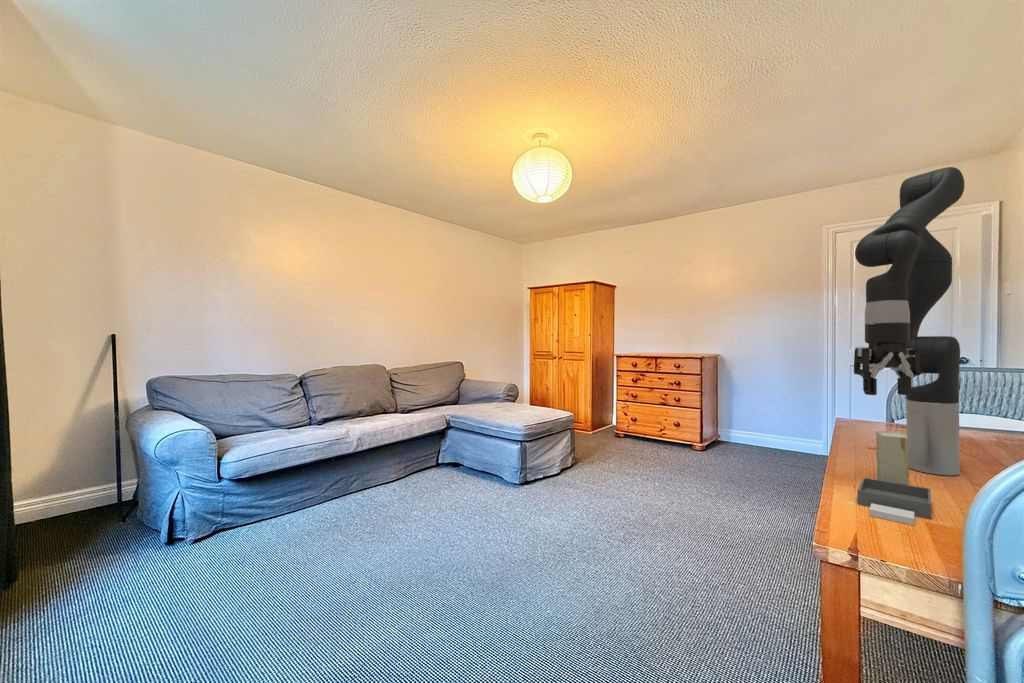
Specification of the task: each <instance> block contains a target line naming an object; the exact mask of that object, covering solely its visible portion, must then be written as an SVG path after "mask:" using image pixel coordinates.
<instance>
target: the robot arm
mask: <svg viewBox="0 0 1024 683" xmlns="http://www.w3.org/2000/svg"><path fill="white" fill-rule="evenodd" d="M899 188H900V189H899V209H898V210H896V211H895V212H894V213H893V214H892V215H891V216H890V217H888V219H887V221H886V222H884V224H883V225H881V226H879V227H877V228H876V229H873V230H872V231H871V232H869V233H868V234H866V235H865V236H864V237H863V238H861V239H860V241H859V242H858V244H857V245H856V247H855V251H854V257H855V260H856V261H857V263H859V264H860V265H861V266H862V267H867V268H875V267H881V266H889V265H891V266H890V267H889V269H888V270H887V271H886V272H884V273H881V274H879V275H875V276H872V277H870V278H868V279H867V281H866V283H865V309H864V342H865V344H868V347H855V349H854V355H853V356H854V357H853V358H854V360H853V374H855V375H859V376H860V377H861V378H862V390H863V392H864V394H865V395H868V396H876V395H877V394H878V393H877V392H878V390H877V389H878V387H877V386H878V385H877V383H878V381H877V378H876V377H877V375H878V374H879V372H881V371H883V370H884V368H890V369H891V370H892V371H894V373H895V374H896V376H898V377H897V394H898V395H901V396H905V399H906V400H905V402H906V403H905V411H906V417H905V418H906V437H908V465H909V469H912V470H915V471H917V472H921V473H926V474H931V475H940V476H959V475H960V474H961V467H960V466H961V461H960V458H961V453H960V452H961V450H960V449H961V447H960V446H961V445H960V444H961V442H960V399H959V398H960V394H959V393H960V391H959V390H960V388H959V386H960V378H959V376H960V364H961V346H960V342H959V341H958V339H957V338H956V337H954V336H950V335H948V336H947V335H945V336H943V335H941V336H939V335H938V336H935V335H933V336H931V335H930V336H928V335H927V336H924V335H923V336H918V335H919V330H920V329H921V328H920V327H921V325H922V322H923V320H924V319H925V317H926V316H927V315H928V313H929V312H930V310H931V309H932V308H933V307H934V306H935V305H936V304H937V303H938V302H939V301H940V300H941V299H942V297H943V296H945V294H946V292H947V291H948V290H949V289H950V287H951V284H952V281H953V258H952V257H953V256H952V254H951V253H950V251H949V250H948V249H947V248H946V247H945V246H944V245H943V243H941V242H940V241H938V239H936V237H934V236H933V235H932V234H931V232H930V231H929V230H928V229H927V227H928V225H930V223H931V222H932V221H933V220H935V219H936V218H938V216H939V215H941V214H942V213H944V212H945V211H947V209H948V208H950V207H952V206H953V205H954V204H955V203H957V202H958V201H959V200H960V199H961V197H962V196H963V194H964V191H965V179H964V175H963V174H962V172H961V169H959V168H957V167H955V166H948V167H942V168H939V169H935V170H931V171H928V172H925V173H921V174H917V175H913V176H910V177H908V178H906V179H905V180H903V181H902V183H901V186H900V187H899ZM861 365H862V366H861ZM921 374H935V375H936V374H938V377H937V379H935V380H934V381H931V382H930V383H929V382H928V383H926V384H922V385H916V386H912V379H913V378H914V377H916V376H920V375H921Z"/></svg>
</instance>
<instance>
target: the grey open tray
mask: <svg viewBox="0 0 1024 683" xmlns="http://www.w3.org/2000/svg"><path fill="white" fill-rule="evenodd" d="M931 490H932V489H931V488H927V487H923V486H922V487H921V486H915V485H911V484H909V485H905V484H899V483H893V482H887V481H881V480H877V479H875V478H868V477H862V478H861V481H860V483H859V485H858V488H857V505H861V506H865V507H869V517H873V518H874V517H875V518H878V519H883V520H888V521H892V522H895V523H902V524H905V525H909V526H915V517H918V518H923V519H927V520H932V493H931Z"/></svg>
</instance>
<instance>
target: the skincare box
mask: <svg viewBox="0 0 1024 683" xmlns="http://www.w3.org/2000/svg"><path fill="white" fill-rule="evenodd" d="M875 438H876V439H875V442H876V445H875V446H876V447H875V448H876V449H875V450H876V477H877V478H876V480H881V481H887V482H893V483H899V484H905V485H910V477H909V474H910V472H909V471H910V470H909V469H910V468H909V465H908V437H907V435H904V434H903V433H901V432H898V431H897V432H894V431H884V430H883V431H882V430H876V431H875Z"/></svg>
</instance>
